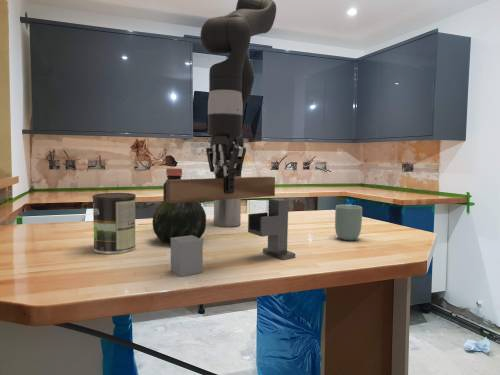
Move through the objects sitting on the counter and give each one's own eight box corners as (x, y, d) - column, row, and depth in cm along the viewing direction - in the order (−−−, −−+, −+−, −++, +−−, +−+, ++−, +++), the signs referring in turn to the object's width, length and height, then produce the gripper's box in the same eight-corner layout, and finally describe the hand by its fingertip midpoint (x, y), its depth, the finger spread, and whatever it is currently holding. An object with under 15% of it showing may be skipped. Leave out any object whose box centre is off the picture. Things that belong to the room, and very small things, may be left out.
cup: (362, 242, 106) (363, 208, 105) (334, 241, 107) (335, 207, 106) (359, 237, 113) (361, 205, 112) (333, 235, 115) (335, 204, 114)
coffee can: (93, 256, 88) (92, 197, 86) (93, 246, 97) (92, 193, 96) (138, 252, 92) (137, 196, 90) (134, 242, 101) (133, 192, 100)
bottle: (183, 227, 122) (183, 168, 121) (186, 232, 116) (186, 169, 114) (162, 228, 120) (162, 168, 119) (164, 233, 114) (164, 168, 112)
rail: (166, 201, 75) (165, 179, 75) (267, 194, 90) (267, 176, 89) (171, 203, 73) (171, 180, 72) (274, 196, 87) (275, 177, 87)
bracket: (244, 255, 91) (245, 199, 89) (275, 250, 96) (276, 197, 95) (264, 263, 84) (265, 203, 83) (295, 257, 89) (297, 200, 88)
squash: (149, 217, 110) (154, 183, 100) (197, 217, 116) (207, 184, 106) (152, 257, 101) (159, 224, 91) (205, 255, 107) (216, 223, 97)
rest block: (170, 270, 78) (170, 237, 77) (192, 266, 81) (192, 235, 80) (180, 276, 74) (180, 242, 73) (202, 272, 77) (202, 239, 76)
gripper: (258, 112, 76) (256, 195, 77) (223, 117, 87) (223, 189, 89) (227, 109, 72) (226, 196, 73) (195, 115, 83) (195, 190, 85)
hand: (224, 192), depth 81 cm, fingers closed on rail, 3 cm apart
